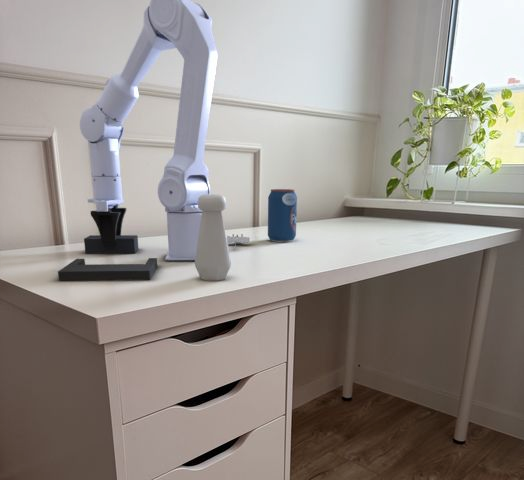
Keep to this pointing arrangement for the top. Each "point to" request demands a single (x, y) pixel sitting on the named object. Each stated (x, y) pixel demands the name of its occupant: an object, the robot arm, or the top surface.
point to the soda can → (282, 215)
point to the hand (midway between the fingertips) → (112, 244)
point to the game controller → (237, 239)
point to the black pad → (107, 271)
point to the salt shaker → (212, 239)
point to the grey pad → (121, 246)
